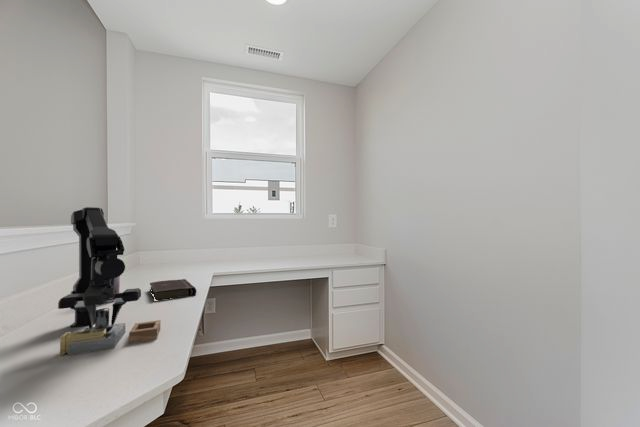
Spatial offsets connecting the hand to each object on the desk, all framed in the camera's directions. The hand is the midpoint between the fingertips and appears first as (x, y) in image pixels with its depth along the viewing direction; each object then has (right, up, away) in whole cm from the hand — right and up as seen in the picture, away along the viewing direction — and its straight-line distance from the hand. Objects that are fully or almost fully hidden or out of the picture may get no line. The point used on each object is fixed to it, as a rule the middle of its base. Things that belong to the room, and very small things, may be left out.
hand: (102, 326), depth 80 cm
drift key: (0, -4, -6) cm, 7 cm away
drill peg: (0, -4, 0) cm, 4 cm away
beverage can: (-30, -6, +41) cm, 51 cm away
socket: (+1, -4, -2) cm, 4 cm away
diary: (-10, -7, +55) cm, 56 cm away
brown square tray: (+11, -4, +3) cm, 12 cm away
